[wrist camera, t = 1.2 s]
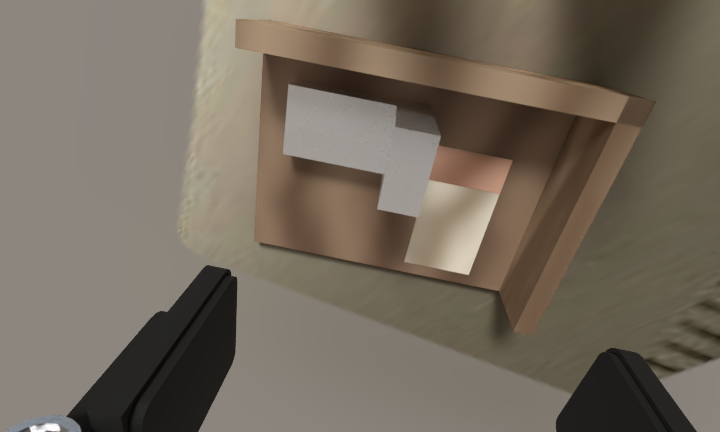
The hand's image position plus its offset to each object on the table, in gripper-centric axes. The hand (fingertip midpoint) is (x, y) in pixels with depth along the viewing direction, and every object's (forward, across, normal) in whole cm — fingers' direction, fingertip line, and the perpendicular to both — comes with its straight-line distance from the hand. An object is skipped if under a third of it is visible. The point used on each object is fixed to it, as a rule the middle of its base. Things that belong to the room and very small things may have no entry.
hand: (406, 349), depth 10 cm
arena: (+22, -1, +3) cm, 22 cm away
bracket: (+21, +4, 0) cm, 21 cm away
